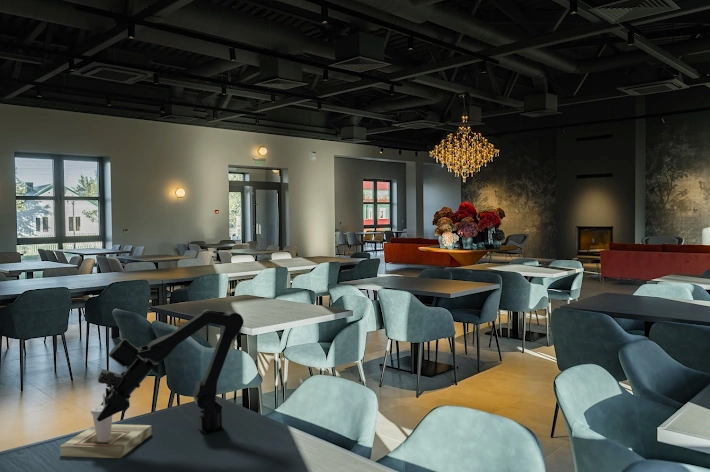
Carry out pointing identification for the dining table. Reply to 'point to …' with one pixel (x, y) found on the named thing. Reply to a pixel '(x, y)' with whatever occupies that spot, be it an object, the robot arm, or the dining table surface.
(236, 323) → the robot arm
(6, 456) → the dining table surface
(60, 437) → the dining table surface
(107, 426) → the smoothie
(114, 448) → the socket board
